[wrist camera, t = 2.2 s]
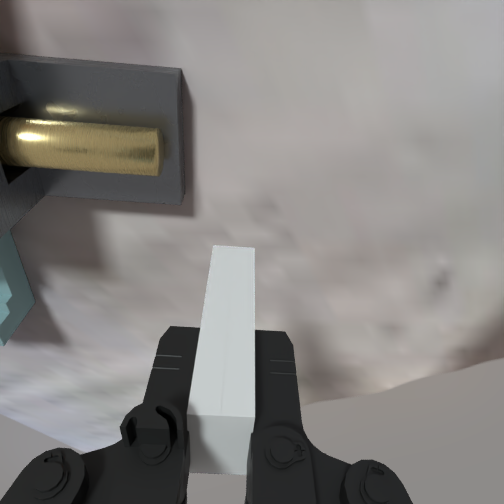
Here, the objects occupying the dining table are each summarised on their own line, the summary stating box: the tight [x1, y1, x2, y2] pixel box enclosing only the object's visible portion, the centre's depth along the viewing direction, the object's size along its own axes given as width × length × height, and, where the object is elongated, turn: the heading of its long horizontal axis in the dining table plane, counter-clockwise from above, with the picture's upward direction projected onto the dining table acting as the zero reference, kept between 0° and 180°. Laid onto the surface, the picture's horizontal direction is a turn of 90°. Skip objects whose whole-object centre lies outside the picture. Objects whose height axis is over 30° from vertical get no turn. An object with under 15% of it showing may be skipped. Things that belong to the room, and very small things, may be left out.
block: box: [0, 53, 185, 238], centre depth 23 cm, size 19×9×8 cm, turn 86°
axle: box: [0, 116, 164, 177], centre depth 23 cm, size 18×3×3 cm, turn 86°
